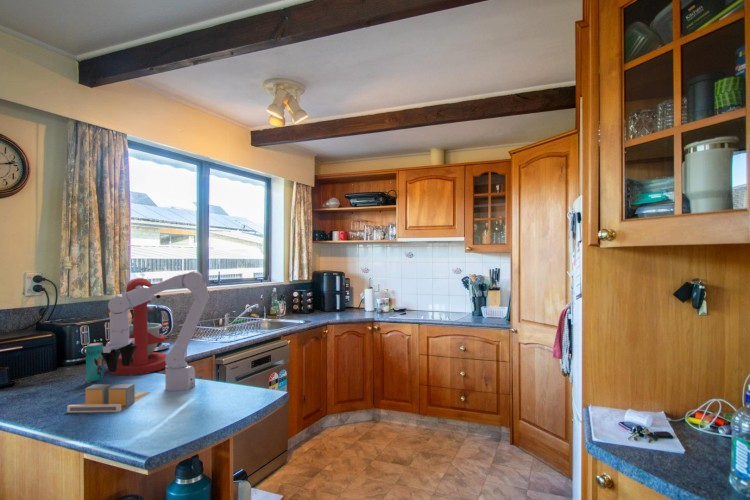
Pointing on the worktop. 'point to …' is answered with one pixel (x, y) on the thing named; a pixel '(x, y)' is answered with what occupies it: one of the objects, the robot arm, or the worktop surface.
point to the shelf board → (137, 396)
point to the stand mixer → (143, 339)
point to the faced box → (121, 394)
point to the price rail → (94, 408)
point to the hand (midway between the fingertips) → (119, 368)
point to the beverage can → (94, 362)
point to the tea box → (97, 394)
